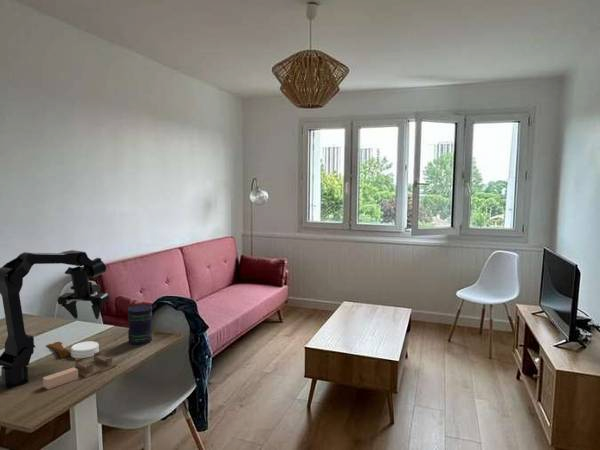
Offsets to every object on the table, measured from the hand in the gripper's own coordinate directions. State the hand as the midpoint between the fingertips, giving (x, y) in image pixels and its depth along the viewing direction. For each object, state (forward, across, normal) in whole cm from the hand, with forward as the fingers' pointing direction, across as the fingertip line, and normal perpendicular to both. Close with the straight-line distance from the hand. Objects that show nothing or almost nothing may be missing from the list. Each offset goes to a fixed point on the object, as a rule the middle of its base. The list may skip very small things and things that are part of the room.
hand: (86, 318), depth 162 cm
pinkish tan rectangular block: (+11, -6, +26) cm, 29 cm away
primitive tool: (+14, +14, +2) cm, 20 cm away
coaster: (+14, +2, +2) cm, 15 cm away
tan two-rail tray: (+13, -10, +14) cm, 22 cm away
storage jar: (+17, -13, -13) cm, 25 cm away
